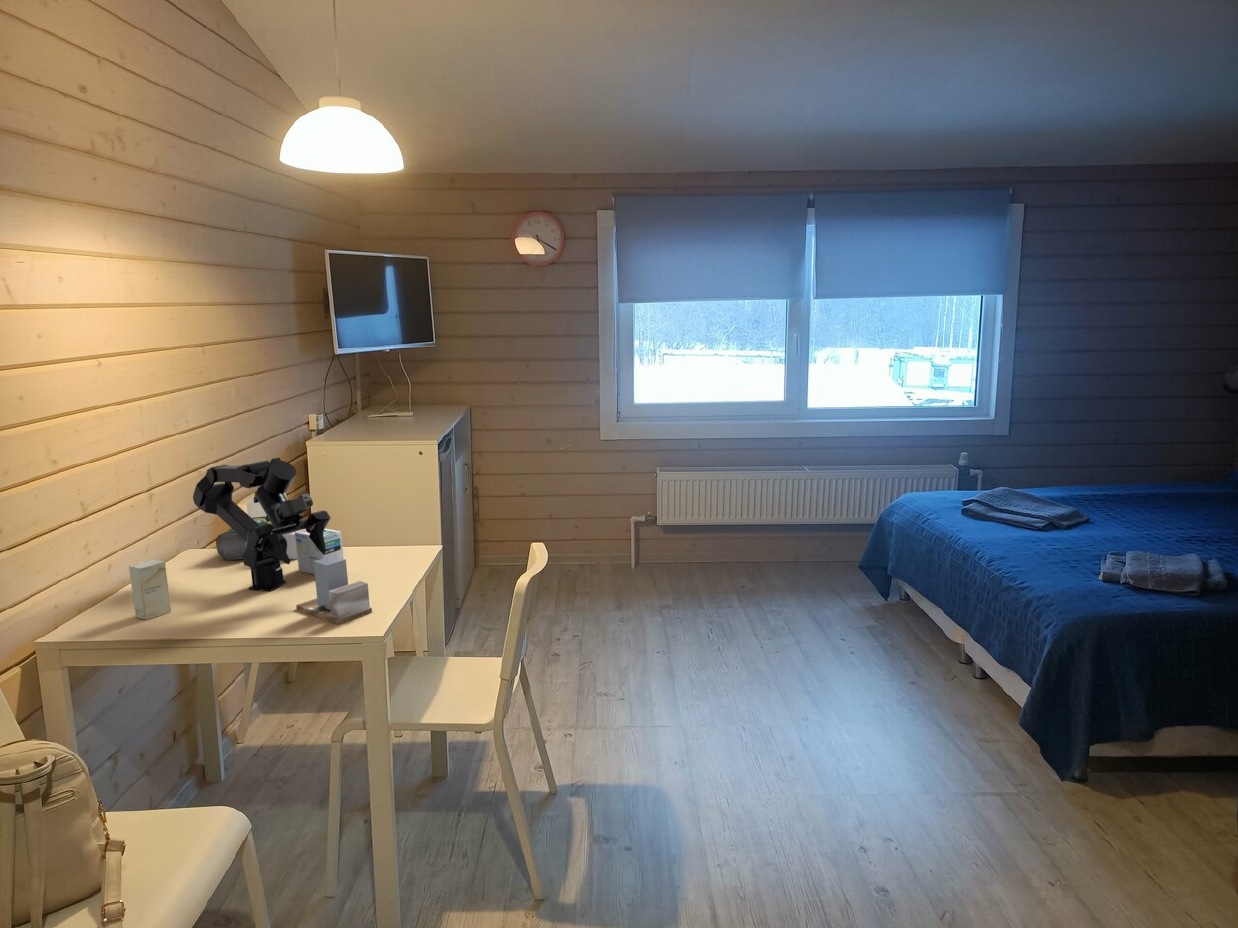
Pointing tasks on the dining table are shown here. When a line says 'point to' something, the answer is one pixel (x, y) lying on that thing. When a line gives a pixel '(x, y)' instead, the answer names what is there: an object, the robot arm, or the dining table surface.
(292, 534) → the medicine bottle
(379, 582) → the dining table surface
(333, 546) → the light bulb box
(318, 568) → the blue-gray square block
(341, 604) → the block on stand
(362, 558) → the dining table surface
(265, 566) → the robot arm
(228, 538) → the coffee jar
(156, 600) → the skincare box
